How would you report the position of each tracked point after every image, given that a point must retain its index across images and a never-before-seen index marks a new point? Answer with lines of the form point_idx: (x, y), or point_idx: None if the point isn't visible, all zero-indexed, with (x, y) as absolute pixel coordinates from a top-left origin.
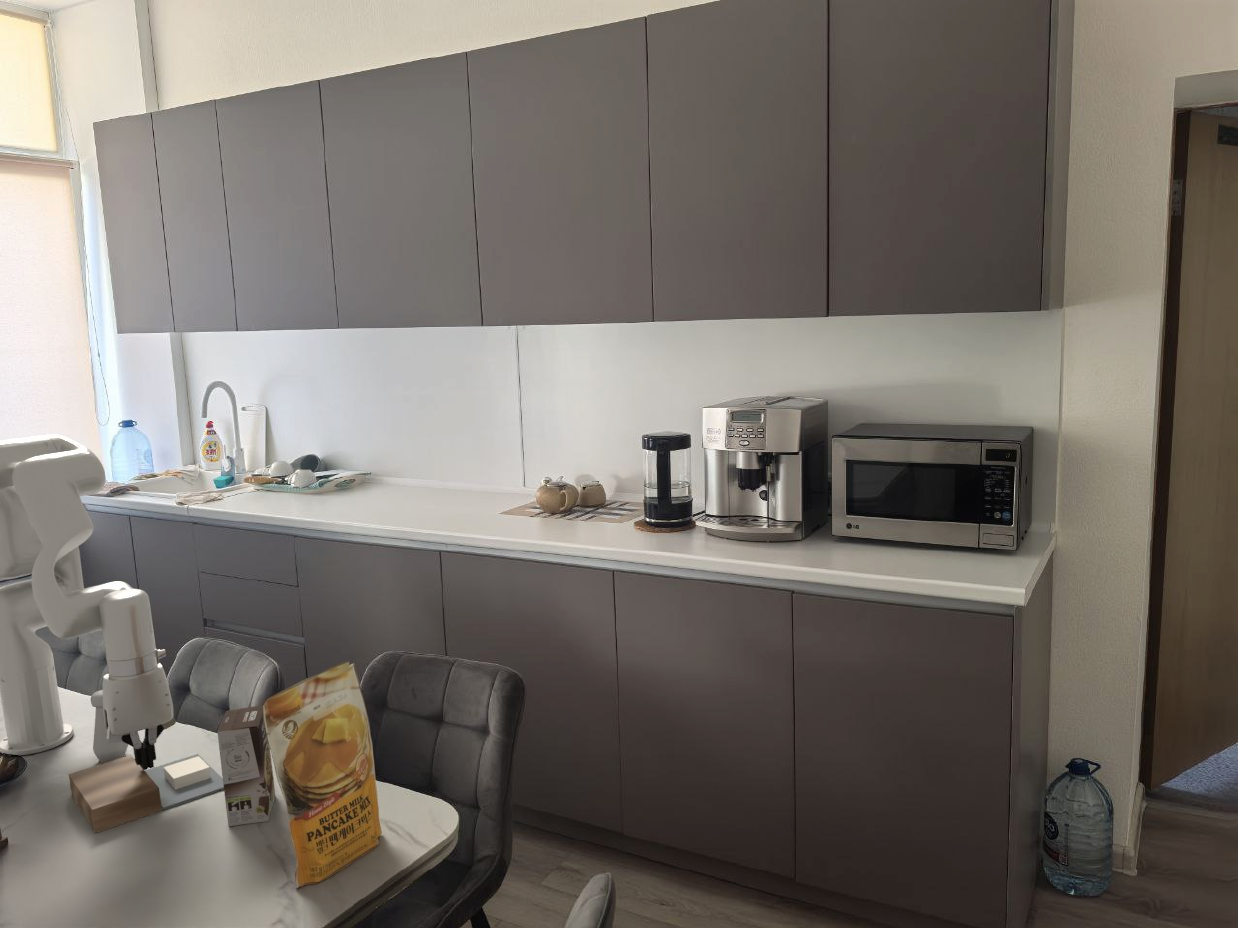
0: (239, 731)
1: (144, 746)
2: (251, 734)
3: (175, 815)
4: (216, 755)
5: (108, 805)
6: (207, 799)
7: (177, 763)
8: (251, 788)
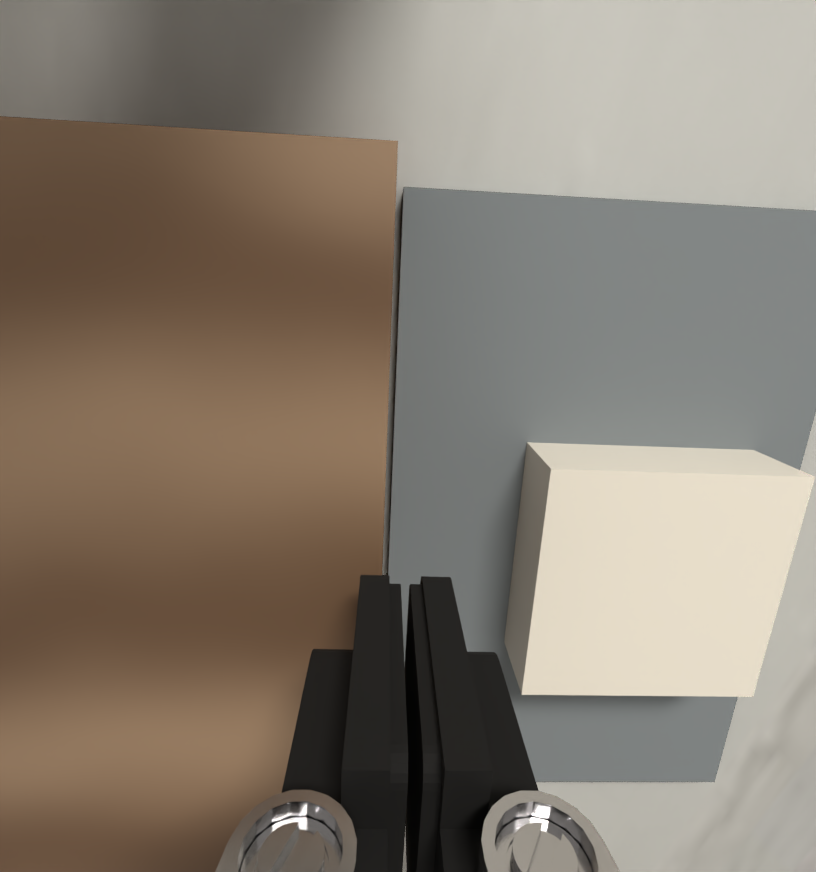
0: None
1: (414, 840)
2: None
3: (404, 846)
4: None
5: None
6: (574, 806)
7: (649, 484)
8: None
